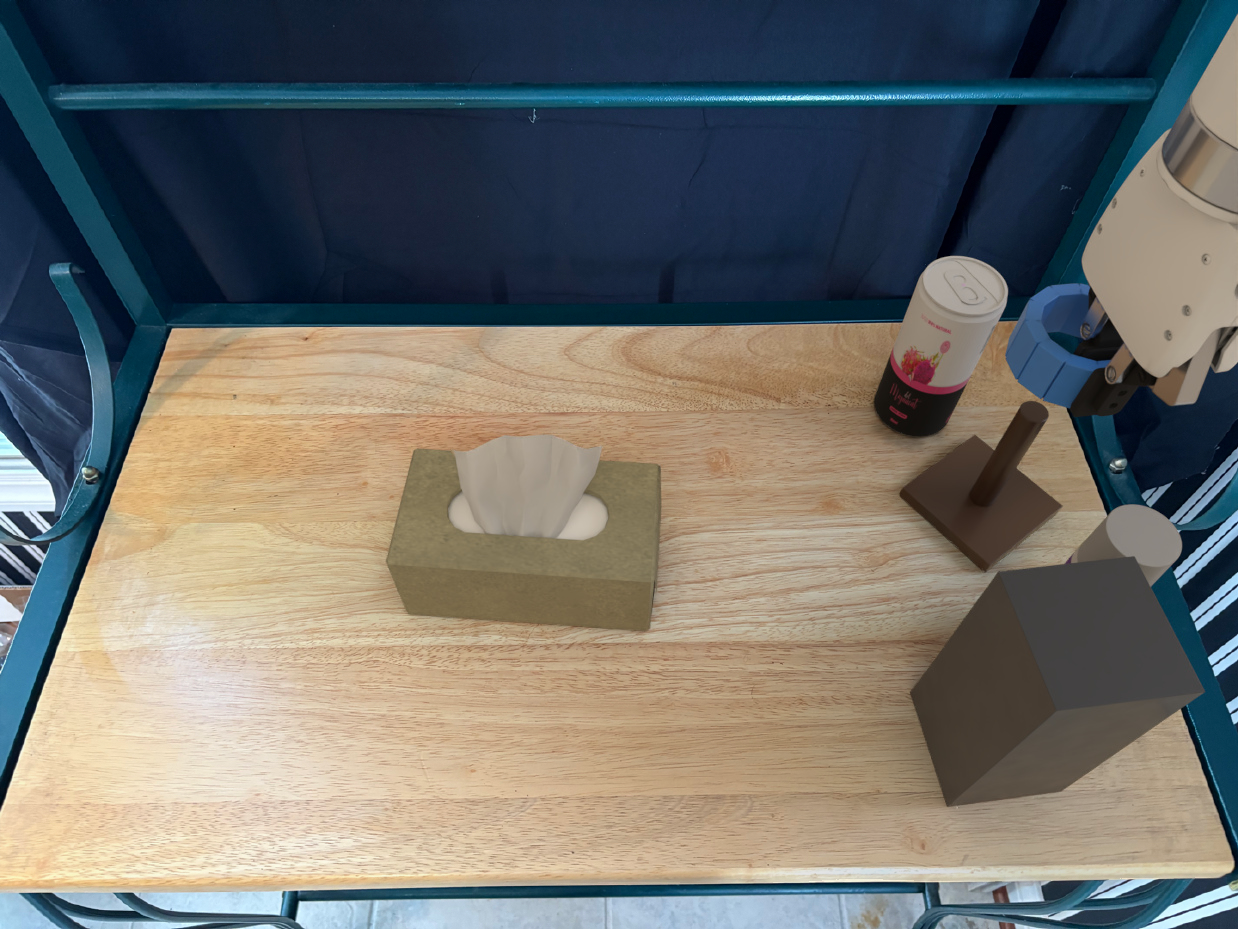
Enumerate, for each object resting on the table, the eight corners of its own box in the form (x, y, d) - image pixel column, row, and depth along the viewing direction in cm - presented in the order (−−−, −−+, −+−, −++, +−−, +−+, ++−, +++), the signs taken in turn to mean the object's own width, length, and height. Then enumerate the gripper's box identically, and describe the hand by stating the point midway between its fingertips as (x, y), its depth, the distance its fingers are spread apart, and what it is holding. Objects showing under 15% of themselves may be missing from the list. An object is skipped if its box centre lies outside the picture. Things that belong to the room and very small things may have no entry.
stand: (1057, 513, 74) (1127, 421, 64) (985, 572, 71) (1047, 485, 61) (970, 442, 78) (1023, 345, 68) (898, 495, 75) (943, 401, 65)
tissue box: (659, 520, 73) (670, 395, 60) (653, 632, 67) (664, 520, 54) (427, 505, 74) (389, 377, 61) (402, 615, 68) (354, 499, 55)
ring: (1148, 372, 60) (1177, 335, 57) (1077, 428, 57) (1103, 391, 54) (1053, 306, 63) (1075, 267, 60) (982, 355, 60) (1001, 317, 57)
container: (1004, 613, 69) (1091, 505, 56) (1064, 607, 69) (1163, 499, 57) (1027, 671, 66) (1123, 572, 54) (1089, 665, 66) (1198, 565, 54)
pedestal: (1061, 791, 61) (1205, 692, 46) (947, 807, 60) (1056, 711, 46) (1016, 679, 66) (1134, 555, 51) (909, 692, 65) (998, 571, 50)
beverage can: (892, 447, 77) (946, 323, 65) (860, 390, 81) (905, 263, 69) (961, 431, 79) (1027, 306, 66) (926, 375, 82) (982, 247, 70)
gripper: (1431, 258, 39) (1201, 494, 54) (1242, 55, 48) (1090, 306, 63) (1267, 273, 38) (1081, 507, 53) (1107, 64, 47) (986, 315, 62)
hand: (1086, 397), depth 58 cm, fingers closed on ring, 1 cm apart
